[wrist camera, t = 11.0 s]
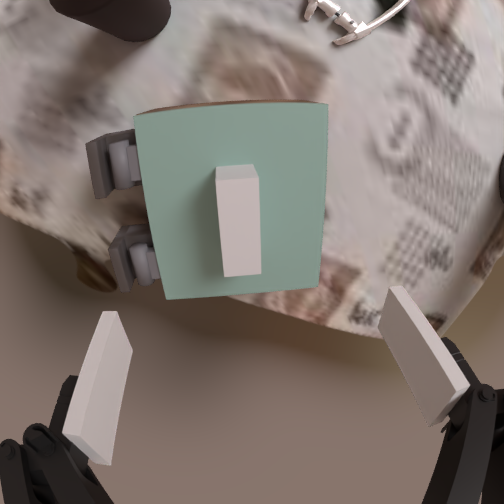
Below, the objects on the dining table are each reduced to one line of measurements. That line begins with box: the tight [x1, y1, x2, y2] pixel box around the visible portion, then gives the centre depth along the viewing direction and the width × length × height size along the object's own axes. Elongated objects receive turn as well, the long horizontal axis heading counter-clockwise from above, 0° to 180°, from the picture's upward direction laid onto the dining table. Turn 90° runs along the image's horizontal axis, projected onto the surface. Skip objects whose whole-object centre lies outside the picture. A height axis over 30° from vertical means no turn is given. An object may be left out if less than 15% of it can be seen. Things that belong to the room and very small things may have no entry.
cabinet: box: [86, 100, 317, 292], centre depth 30 cm, size 20×18×10 cm
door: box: [108, 102, 328, 300], centre depth 25 cm, size 18×18×6 cm
